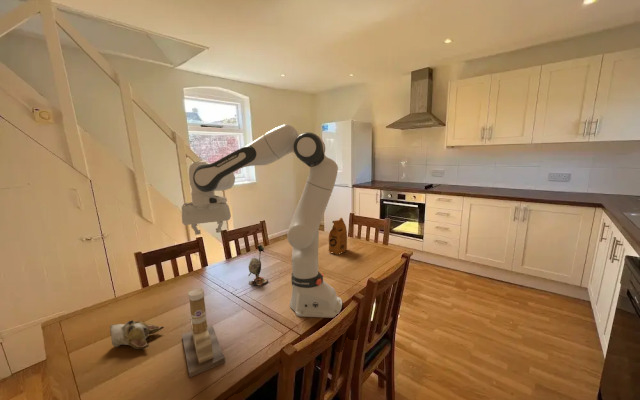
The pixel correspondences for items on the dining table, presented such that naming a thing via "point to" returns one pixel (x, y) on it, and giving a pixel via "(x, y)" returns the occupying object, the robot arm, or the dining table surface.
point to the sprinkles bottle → (198, 310)
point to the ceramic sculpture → (132, 334)
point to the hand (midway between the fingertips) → (208, 233)
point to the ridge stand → (202, 350)
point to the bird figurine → (256, 269)
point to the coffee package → (338, 237)
